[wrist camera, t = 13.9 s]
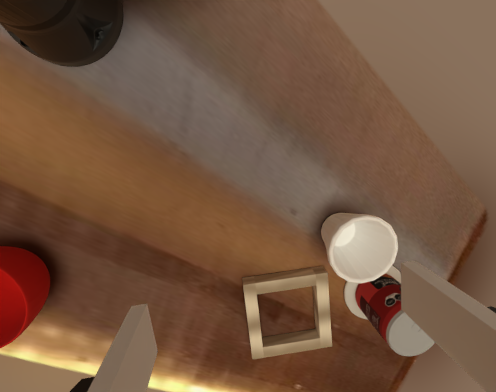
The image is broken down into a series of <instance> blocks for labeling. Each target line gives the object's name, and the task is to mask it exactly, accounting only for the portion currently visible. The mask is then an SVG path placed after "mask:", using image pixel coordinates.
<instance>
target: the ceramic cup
mask: <svg viewBox="0 0 496 392" xmlns="http://www.w3.org/2000/svg"><path fill="white" fill-rule="evenodd" d="M49 289H50V275H49V271H48V269H47V267H46V265H45V264H44V262H43V261H42V260H41V259H40V258H39V257H38V256H37V255H35V254H33V253H32V252H30V251H27V250H25V249H21V248H17V247H9V246H0V348H2V347H4V346H6V345H7V344H9V343H11V342H12V341H13V340H15V339H16V338H17V337H18V336H20V335H21V334H22V333H23V331H24V330H25V329H26V328H27V327H28V326H29V325H30V323H31V322H32V321H33V320H34V318H35V317H36V316H37V315H38V313H39V312H40V310H41V309H42V307H43V305H44V303H45V301H46V299H47V297H48V294H49Z"/></svg>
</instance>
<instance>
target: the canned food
mask: <svg viewBox="0 0 496 392" xmlns="http://www.w3.org/2000/svg"><path fill="white" fill-rule="evenodd" d="M355 298H356V302H357V305H358V307H359V308H360V310H361V311H362V312H363V313H364V315H365V316H366V317H367V319H368V320H369V321H370V322H371V324H372V325H373V326H374V327H375V329H376V330H377V331H378V332H379V334H380V335H381V336H382V338H383V339H384V340H385V341H386V342H387V344H388V345H389V346H390V347H391V348H392V349H393V350H394V351H395V352H396V353H398V354H400V355H403V356H415V355H419V354H421V353H423V352H425V351H427V350H428V349H429V348H430V347H431V346H432V345H433V344H434V343H435V342H434V341H433V340H432V339H431V338H430V337H429V336H428V335H427V334H426V333H425V332H424V331H423V330H422V329H421V328H420V327H419V326H418V325H417V324H416V323H415V322H414V321H413V320H412V319H411V318H410V317H409V316H408V315H407V314H406V313H405V312H404V311H403V310H402V309H401V283H399V282H398V281H397V280H396V279H395V278H393V277H392V276H390V275H388V274H383V275H382V276H380V277H379V278H377V279H376V280H374V281H370V282H366V283H359V284H358V286H357V289H356V293H355Z"/></svg>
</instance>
